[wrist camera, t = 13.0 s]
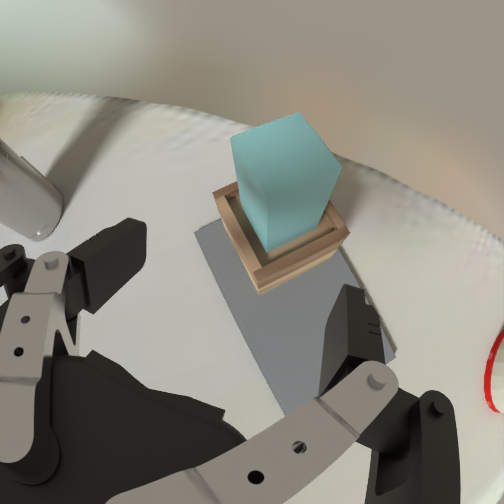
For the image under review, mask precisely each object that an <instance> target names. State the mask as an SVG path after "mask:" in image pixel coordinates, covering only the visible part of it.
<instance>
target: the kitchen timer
mask: <svg viewBox="0 0 504 504" xmlns="http://www.w3.org/2000/svg"><path fill="white" fill-rule="evenodd" d="M484 392H485V398H486V401H487V403H488V405H489V407H490V408H491V409H492V410H493V411H494V412H499V413H504V331H503V332H502V333H501V334H500V335H499V336H498V338H497V339H496V341H495V343H494V345H493V347H492V349H491V351H490V354H489V358H488V360H487V364H486V370H485V375H484Z"/></svg>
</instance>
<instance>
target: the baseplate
mask: <svg viewBox="0 0 504 504" xmlns="http://www.w3.org/2000/svg"><path fill="white" fill-rule="evenodd" d="M194 234H195V236H196V238H197V241H198V243H199V245H200V247H201V249H202V252H203V254H204V256H205V258H206V260H207V262H208V265H209V267H210V269H211V271H212V273H213V275H214V277H215V280H216V282H217V284H218V286H219V288H220V290H221V292H222V294H223V296H224V298H225V300H226V302H227V305H228V307H229V309H230V311H231V313H232V315H233V317H234V319H235V321H236V323H237V325H238V327H239V329H240V331H241V333H242V335H243V337H244V339H245V341H246V343H247V345H248V347H249V349H250V351H251V352H252V354H253V356H254V358H255V360H256V362H257V364H258V366H259V368H260V370H261V372H262V374H263V375H264V377H265V379H266V381H267V383H268V385H269V387H270V389H271V390H272V392H273V394H274V396H275V398H276V400H277V402H278V403H279V405H280V407H281V409H282V411H283V412H284V414H285V416H287V415H288V414H290V413H291V412H293V411H294V410H296V409H297V408H299V407H300V406H301V405H303V404H304V403H306V402H307V401H308V400H310V399H311V398H313V397H315V396H317V397H318V391H319V383H320V375H321V365H322V356H323V345H324V333H325V326H326V323H327V320H328V317H329V314H330V312H331V310H332V308H333V306H334V304H335V301H336V299H337V297H338V295H339V293H340V290H341V288H342V286H343V285H344V284H348V285H351V286H355V287H358V288H360V286H359V284H358V282H357V280H356V278H355V277H354V275H353V273H352V271H351V270H350V268H349V266H348V264H347V263H346V261H345V259H344V257H343V256H342V254H341V252H340V251H339V249H337V250H336V252H335V253H334V254H333V255H332V257H331V258H330V259H328V260H326V261H324V262H323V263H321V264H319V265H317V266H315V267H313V268H311V269H309V270H307V271H306V272H304V273H302V274H300V275H298V276H296V277H294V278H292V279H290V280H288V281H286V282H284V283H282V284H281V285H279V286H277V287H275V288H273V289H271V290H269V291H267V292H265V293H263V294H261V295H259V294H258V292H257V290H256V288H255V286H254V284H253V282H252V280H251V279H250V277H249V275H248V273H247V271H246V269H245V267H244V265H243V263H242V261H241V259H240V257H239V255H238V253H237V251H236V249H235V247H234V245H233V243H232V241H231V239H230V237H229V235H228V233H227V231H226V229H225V227H224V225H223V222H222V219H220V220H218V221H216V222H214V223H212V224H210V225H208V226H206V227H204V228H202V229H200V230H198V231H196V232H194ZM365 302H366V304H368V305H370V304H369V302H368V300H367V299H366V297H365ZM380 328H381V333H382V335H381V336H382V340H383V347H384V355H385V364H387V363H389V362H390V361H392V360H393V359H394V358H396V356H395V354H394V352H393V350H392V348H391V346H390V343H389V341H388V339H387V337H386V335H385V333H384V331H383V329H382V327H381V325H380Z"/></svg>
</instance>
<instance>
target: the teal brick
mask: <svg viewBox="0 0 504 504" xmlns="http://www.w3.org/2000/svg"><path fill="white" fill-rule="evenodd" d="M230 140H231V146H232V152H233V158H234V164H235V170H236V176H237V182H238V188H239V194H240V200H241V206H242V208H243V210H244V212H245V214H246V216H247V218H248V220H249V221H250V223H251V225H252V227H253V229H254V231H255V232H256V234H257V236H258V238H259V240H260V242H261V244H262V245H263V247H264V249H265V251H266V253H268V252H270V251H272V250H274V249H276V248H278V247H280V246H282V245H284V244H286V243H288V242H290V241H292V240H294V239H296V238H298V237H300V236H302V235H305V234H307V233H309V232H311V231H313V230H315V229H316V228H317V225H318V223H319V221H320V219H321V216H322V214H323V212H324V210H325V207H326V205H327V203H328V201H329V198H330V196H331V194H332V191H333V189H334V187H335V184H336V182H337V180H338V177H339V175H340V172H341V170H342V168H343V167H342V166H341V164H340V163H339V161H338V160H337V159H336V157H335V156H334V155H333V153H332V152H331V151H330V150H329V148H328V147H327V146H326V144H325V143H324V142H323V141H322V139H321V138H320V137H319V136H318V134H317V133H316V132H315V131H314V129H313V128H312V127H311V126H310V125H309V123H308V122H307V121H306V120H305V119H304V117H303V116H302V115H301V114H300V113H299V112H298V113H296V114H292V115H289V116H286V117H283V118H280V119H277V120H275V121H272V122H269V123H266V124H263V125H261V126H258V127H255V128H253V129H250V130H247V131H245V132H242V133H240V134H237V135H235V136H232V137H230Z"/></svg>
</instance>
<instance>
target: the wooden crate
mask: <svg viewBox="0 0 504 504" xmlns="http://www.w3.org/2000/svg"><path fill="white" fill-rule="evenodd" d="M212 193H213V196H214V199H215V201H216V204H217V207H218V210H219V213H220V216H221V219H222V222H223V225H224V227H225V229H226V231H227V233H228V235H229V237H230V239H231V241H232V243H233V245H234V247H235V249H236V251H237V253H238V255H239V257H240V259H241V261H242V263H243V265H244V267H245V269H246V271H247V273H248V275H249V277H250V279H251V280H252V282H253V284H254V286H255V288H256V290H257V292H258V294H259V295H261V294H263V293H265V292H267V291H269V290H271V289H273V288H275V287H277V286H279V285H281V284H282V283H284V282H286V281H288V280H290V279H292V278H294V277H296V276H298V275H300V274H302V273H304V272H306V271H307V270H309V269H311V268H313V267H315V266H317V265H319V264H321V263H323V262H324V261H326V260H328V259H330V258H331V257H332V255H333V254H334V253H335V252H336V250H337V249H338V248H339V246H340V245H341V244H342V243H343V241H344V240H345V239H346V237H347V236H348V235H349V234H350V232H349V230H348V229H347V227H346V225H345V224H344V222H343V221H342V219H341V217H340V216H339V214H338V213H337V211H336V210H335V208H334V207H333V205H332V203H331V202H330V200H329V201H328V203H327V205H326V207H325V210H324V212H323V214H322V216H321V219H320V221H319V223H318V225H317V228H316V229H315V230H313V231H311V232H309V233H307V234H305V235H302V236H300V237H298V238H296V239H294V240H292V241H290V242H288V243H286V244H284V245H282V246H280V247H278V248H276V249H274V250H272V251H270V252H268V253H266V251H265V249H264V247H263V245H262V244H261V242H260V240H259V238H258V236H257V234H256V232H255V231H254V229H253V227H252V225H251V223H250V221H249V220H248V218H247V216H246V214H245V212H244V210H243V208H242V206H241V200H240V194H239V188H238V182H237V181H236V182H234V183H232V184H230V185H228V186H225V187H223V188H221V189H219V190H217V191H215V192H212Z"/></svg>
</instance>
